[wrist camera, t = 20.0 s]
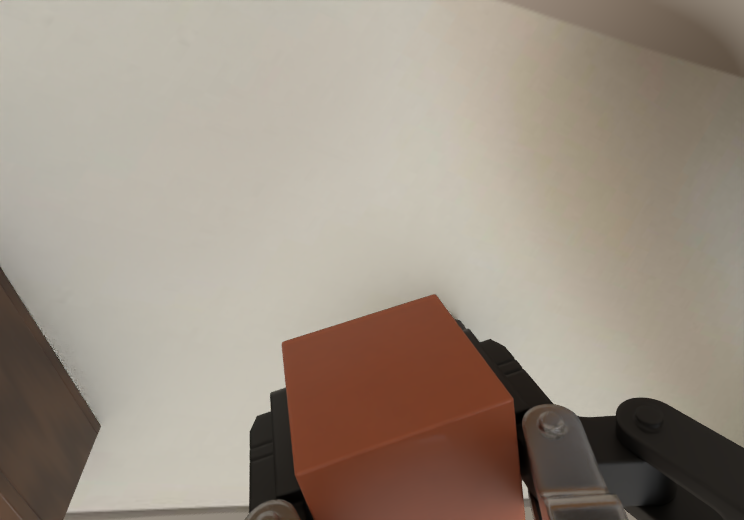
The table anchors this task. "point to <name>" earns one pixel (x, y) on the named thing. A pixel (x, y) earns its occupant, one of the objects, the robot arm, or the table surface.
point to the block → (401, 421)
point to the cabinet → (37, 420)
